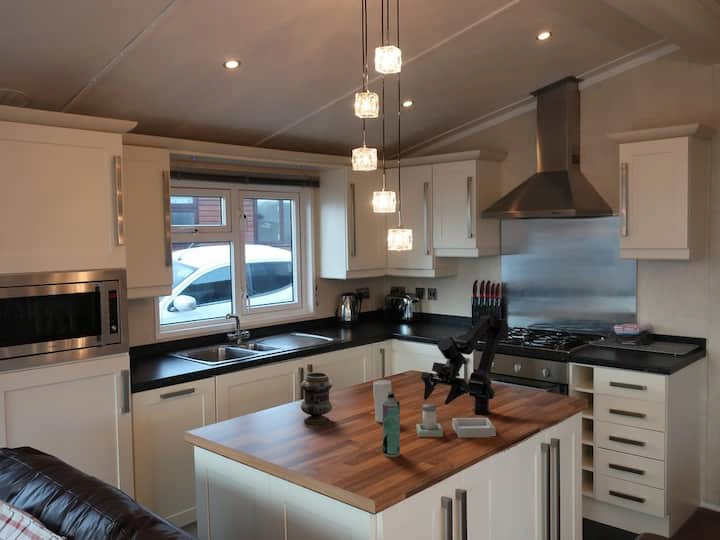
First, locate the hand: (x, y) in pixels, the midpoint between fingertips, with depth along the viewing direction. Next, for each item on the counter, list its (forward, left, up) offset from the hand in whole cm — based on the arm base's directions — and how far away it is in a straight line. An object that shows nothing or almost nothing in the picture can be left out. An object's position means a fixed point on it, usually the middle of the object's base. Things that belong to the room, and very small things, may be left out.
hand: (434, 401), depth 225 cm
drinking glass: (-13, -18, -11) cm, 25 cm away
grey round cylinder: (+2, -2, -11) cm, 11 cm away
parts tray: (+1, +14, -10) cm, 17 cm away
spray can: (+23, -17, -11) cm, 31 cm away
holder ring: (+2, -2, -10) cm, 11 cm away
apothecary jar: (-14, -43, -11) cm, 47 cm away
